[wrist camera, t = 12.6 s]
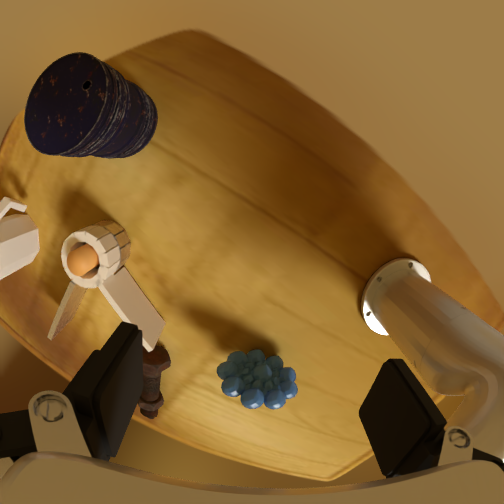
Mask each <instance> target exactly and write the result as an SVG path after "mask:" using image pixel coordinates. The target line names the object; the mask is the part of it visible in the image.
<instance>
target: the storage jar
mask: <svg viewBox="0 0 504 504" xmlns="http://www.w3.org/2000/svg"><path fill="white" fill-rule="evenodd" d="M157 119H158V116H157V109H156V106H155V104H154V102H153V100H152V99H151V98H150V97H149V96H148V95H147V94H146V93H145V92H144V91H143V90H142V89H141V88H140V87H138V86H137V85H136V84H134V83H132V82H130V81H128V80H125V79H124V77H123V76H122V75H121V74H120V73H119V72H118V71H117V70H115V69H114V68H112V67H111V66H110V65H108V64H106V63H105V62H102V61H100V60H99V59H97V58H96V57H94V56H93V55H91V54H87V53H82V52H78V53H72V54H68V55H66V56H63V57H61V58H59V59H58V60H56V61H55V62H53V63H52V64H51V65H50V66H48V67H47V68H46V69H45V71H44V72H43V73H42V74H41V75H40V76H39V78H38V79H37V81H36V83H35V84H34V86H33V88H32V90H31V92H30V94H29V97H28V100H27V104H26V108H25V117H24V123H25V130H26V134H27V137H28V139H29V141H30V143H31V144H32V146H33V147H34V148H35V149H36V150H37V151H39V152H41V153H43V154H46V155H60V156H66V157H86V156H89V155H92V156H95V157H101V158H125V157H129V156H132V155H134V154H136V153H138V152H139V151H141V150H142V149H143V148H144V147H145V146H146V145H147V144H148V143H149V141H150V140H151V138H152V137H153V135H154V132H155V130H156V126H157Z"/></svg>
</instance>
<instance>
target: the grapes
mask: <svg viewBox="0 0 504 504" xmlns="http://www.w3.org/2000/svg"><path fill="white" fill-rule="evenodd" d="M217 374H218V376H219V377H220V378H221V379H223V380H224V381H223V382H222V386H221V388H222V391H223V393H224V394H226V395H227V396H230V397H237V396H239V395H241V403H242V405H243V406H245V407H246V408H249V409H256V408H258V407H260V406H261V405H262V404H263V403H264V404H265V406H266V407H268V408H270V409H279V408H281V407H283V405H284V404H285V402H286V399H291V398H293V397H295V395H296V394H297V391H298V388H297V385H296V384H295V382H294V381H295V379H296V373H295V371H294V370H293V369H292V368H291V367H284V368H283V361H282V359H281V358H280V357H279V356H270V357H268V358H267V359H266V360H265V355H264V353H263V352H262V351H261V350H260V349H256V350H252V351H249V352H248V353H247V355H246V354H245V353H244V352H242V351H235V352H233V353H231V354H230V355H229V356H228V359H227V361H226V362H223V363H221V364H220V365H219V366H218V367H217Z"/></svg>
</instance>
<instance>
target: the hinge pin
mask: <svg viewBox="0 0 504 504" xmlns="http://www.w3.org/2000/svg"><path fill="white" fill-rule="evenodd" d="M98 264H100V263H99V256H98V254H97V252H96V251H95V249H94V248H93V246H91V245H89V244H88V243H87V244H85V245H83V246H81V247H79V248H77V249H75V250H73V251H71V252H70V253H69V254H68V256H67V266H68V268H69V270H70V272H71V273H72V274H74V275H76V276H82V275H84V274H85V273H87V272H88V271H90V270H91V269H93V268H94V267H95V266H97V265H98Z"/></svg>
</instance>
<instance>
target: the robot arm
mask: <svg viewBox="0 0 504 504" xmlns="http://www.w3.org/2000/svg"><path fill="white" fill-rule="evenodd" d="M361 312H362V316H363V319H364V321H365V322H366V324H367V325H368V326H369V328H370V329H372V330H373V331H374V332H376V333H378V334H382V335H389V336H390V337H391V338H392V340H393V341H394V342H395V343H396V345H397V346H398V347H399V348H400V350H401V351H402V352H403V354H404V355H405V356H406V357H407V359H408V360H409V361H410V362H411V364H412V365H413V366H414V368H415V369H416V370H417V372H418V373H419V374H420V376H421V377H422V378H423V380H424V381H425V382H426V384H427V385H428V386H429V387H430V388H431V389H432V390H434V391H435V392H437V393H439V394H443V395H451V396H454V395H455V396H456V395H465V398H464V400H463V402H462V403H461V404H460V406H459V407H458V408H457V409H456V411H455V412H454V414H453V415H452V416H451V417H450V418H449V419H448V420H447V421H446V420H445V418H444V417H443V415H442V414H441V412H440V411H439V409H438V408H437V406H436V405H435V404H434V402H433V401H432V399H431V398H430V396H429V395H428V394H427V392H426V391H425V389H424V388H423V386H422V385H421V384H420V382H419V381H418V379H417V378H416V377H415V375H414V374H413V373H412V371H411V370H410V369H409V367H408V366H407V364H406V363H405V362H404V360H402V359H388V360H387V362H385V363H383V365H382V367H381V369H380V371H379V373H378V375H377V377H376V379H375V381H374V383H373V385H372V387H371V389H370V391H369V393H368V395H367V396H366V398H365V400H364V402H363V404H362V405H361V407H360V409H359V417H360V419H361V422H362V424H363V427H364V429H365V431H366V434H367V436H368V439H369V441H370V444H371V446H372V449H373V451H374V454H375V456H376V459H377V462H378V464H379V467H380V469H381V472H382V474H383V475H385V476H386V478H387V479H383V480H377V481H371V482H365V483H357V484H350V485H341V486H331V487H318V488H295V489H294V488H292V489H275V488H274V489H273V488H272V489H271V488H249V487H236V486H225V485H216V484H209V483H202V482H195V481H189V480H184V479H179V478H173V477H168V476H163V475H159V474H154V473H150V472H146V471H142V470H138V469H134V468H131V467H127V466H123V465H119V464H115V463H112V462H109V459H110V457H115V456H116V454H117V452H118V450H119V447H120V444H121V442H122V439H123V437H124V434H125V432H126V429H127V427H128V425H129V422H130V420H131V417H132V415H133V412H134V410H135V408H136V405H137V403H138V400H139V398H140V396H141V393H142V390H143V334H142V330H140V329H138V326H137V325H136V324H131V323H128V322H124V321H123V322H121V323H120V325H119V326H118V327H117V329H116V330H115V331H114V333H113V334H112V335H111V337H110V338H109V339H108V341H107V342H106V343H105V345H104V346H103V347H102V349H101V350H94V351H93V352H92V354H91V355H90V356H89V358H88V359H87V360H86V362H85V363H84V364H83V366H82V367H81V368H80V370H79V371H78V372H77V374H76V375H75V377H74V378H73V379H72V381H71V382H70V383H69V385H68V386H67V388H66V389H65V390H64V392H63V393H62V394H61V393H59V392H55V391H43V392H40V393H38V394H36V395H35V396H34V397H33V398H32V399H31V400H30V403H29V409H28V410H22V411H15V412H9V413H2V414H0V504H504V335H502V334H501V333H500V332H498V331H497V330H495V329H494V328H493V327H491V326H490V325H488V324H487V323H486V322H484V321H483V320H482V319H480V318H479V317H478V316H476V315H475V314H474V313H472V312H471V311H470V310H468V309H467V308H466V307H464V306H463V305H462V304H460V303H459V302H457V301H456V300H455V299H453V298H452V297H451V296H449V295H448V294H446V293H445V292H443V291H442V290H441V289H439V288H438V287H436V286H435V285H433V284H432V283H431V278H430V275H429V273H428V271H427V270H426V268H425V267H424V266H423V265H422V264H421V263H419V262H417V261H416V260H413V259H410V258H398V259H395V260H392V261H390V262H388V263H386V264H384V265H383V266H382V267H380V268H379V269H378V270H377V271H376V272H375V273H374V274H373V275H372V277H371V278H370V280H369V281H368V283H367V285H366V287H365V289H364V292H363V295H362V299H361Z"/></svg>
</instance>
